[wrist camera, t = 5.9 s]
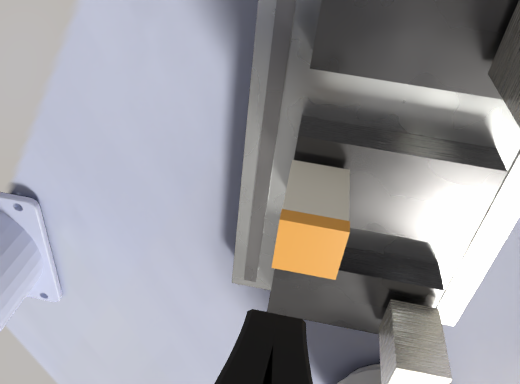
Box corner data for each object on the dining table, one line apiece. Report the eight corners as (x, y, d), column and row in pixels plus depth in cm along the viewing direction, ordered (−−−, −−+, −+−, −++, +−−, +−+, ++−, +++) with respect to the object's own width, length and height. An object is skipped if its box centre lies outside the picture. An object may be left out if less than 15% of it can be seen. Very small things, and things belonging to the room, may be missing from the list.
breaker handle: (283, 204, 17) (271, 267, 14) (291, 158, 16) (279, 219, 13) (338, 214, 17) (335, 280, 14) (350, 169, 16) (349, 232, 13)
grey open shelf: (237, 261, 24) (206, 373, 19) (273, -95, 14) (228, -62, 9) (448, 301, 23) (475, 430, 18) (639, -44, 13) (816, 21, 8)
